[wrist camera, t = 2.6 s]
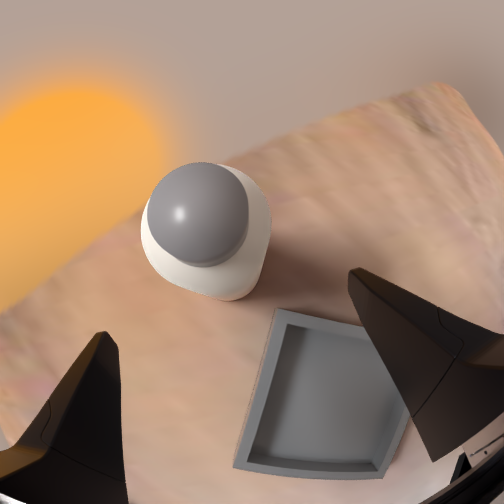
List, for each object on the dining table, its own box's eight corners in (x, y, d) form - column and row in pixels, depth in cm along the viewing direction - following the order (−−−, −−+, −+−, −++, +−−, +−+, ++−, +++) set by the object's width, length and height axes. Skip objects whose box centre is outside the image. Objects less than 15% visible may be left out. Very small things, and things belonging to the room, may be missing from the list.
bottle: (267, 243, 21) (289, 158, 9) (251, 308, 20) (253, 305, 8) (204, 228, 21) (155, 134, 9) (186, 290, 20) (105, 263, 8)
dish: (416, 337, 19) (431, 339, 17) (373, 467, 17) (382, 478, 15) (274, 308, 20) (277, 308, 17) (234, 454, 17) (232, 467, 15)
